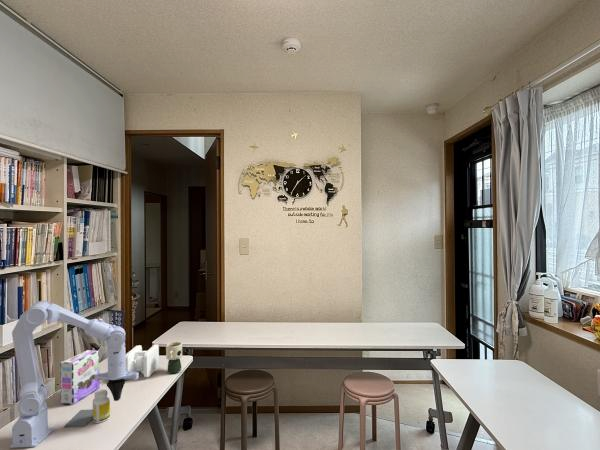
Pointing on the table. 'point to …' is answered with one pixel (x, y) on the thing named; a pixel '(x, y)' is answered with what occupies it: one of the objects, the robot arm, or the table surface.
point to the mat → (81, 418)
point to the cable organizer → (143, 360)
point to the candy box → (79, 376)
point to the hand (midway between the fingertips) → (117, 399)
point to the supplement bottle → (101, 406)
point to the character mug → (174, 356)
